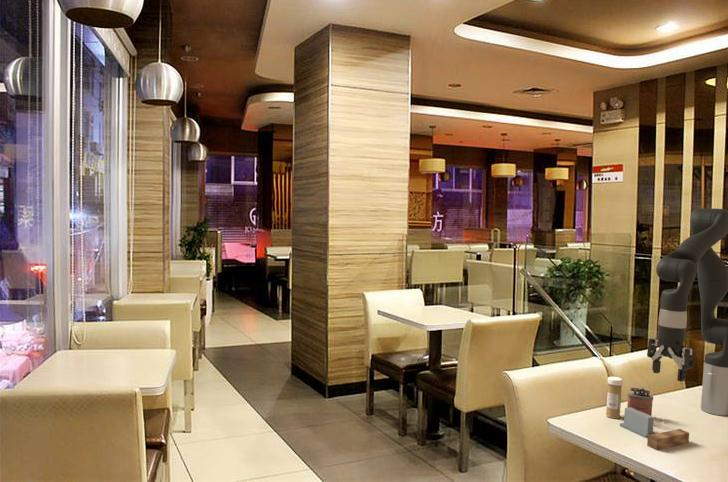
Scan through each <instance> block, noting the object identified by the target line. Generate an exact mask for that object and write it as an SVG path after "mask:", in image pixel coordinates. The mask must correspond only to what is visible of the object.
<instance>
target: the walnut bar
mask: <svg viewBox="0 0 728 482" xmlns="http://www.w3.org/2000/svg"><path fill="white" fill-rule="evenodd" d="M656 433H657V434H652V435H648V437H647V443H646V444H647V445H646V446H647V447H648V448H651V449H653V450H655V451H659V450H660V451H661V450H664V449H669V448H673V447H678V446H682V445H686V444H689V440H690V432H688V431H685V430H684V429H681V428H678V429H672V430H667V431H663V432H656Z"/></svg>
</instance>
